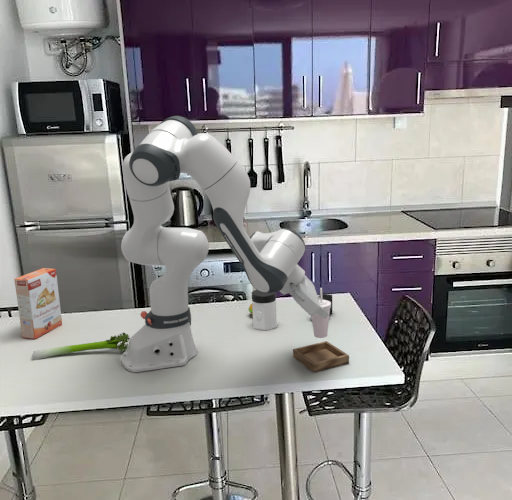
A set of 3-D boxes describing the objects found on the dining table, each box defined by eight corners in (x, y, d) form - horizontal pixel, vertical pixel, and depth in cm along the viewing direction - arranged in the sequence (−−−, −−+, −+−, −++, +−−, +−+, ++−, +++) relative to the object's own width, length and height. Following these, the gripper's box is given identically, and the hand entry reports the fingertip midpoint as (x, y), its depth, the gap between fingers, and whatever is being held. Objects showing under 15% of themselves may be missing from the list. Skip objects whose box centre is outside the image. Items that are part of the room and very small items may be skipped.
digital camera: (317, 311, 193) (317, 293, 191) (332, 313, 191) (332, 294, 189) (308, 321, 184) (308, 302, 182) (323, 323, 182) (323, 303, 180)
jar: (247, 328, 180) (245, 294, 177) (259, 319, 187) (257, 287, 184) (270, 332, 176) (269, 297, 173) (282, 323, 182) (281, 290, 180)
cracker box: (36, 340, 177) (27, 279, 172) (21, 338, 179) (12, 278, 174) (63, 324, 190) (56, 267, 185) (50, 323, 191) (42, 267, 186)
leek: (38, 359, 167) (134, 344, 169) (32, 371, 161) (133, 355, 163) (33, 342, 165) (131, 327, 167) (27, 354, 158) (129, 338, 161)
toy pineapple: (247, 319, 188) (246, 304, 186) (251, 309, 197) (250, 295, 196) (266, 319, 187) (266, 305, 186) (269, 309, 196) (269, 295, 195)
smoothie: (335, 337, 149) (334, 290, 146) (314, 341, 148) (312, 293, 144) (326, 329, 155) (325, 283, 152) (306, 333, 154) (304, 286, 150)
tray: (313, 372, 146) (313, 364, 146) (293, 357, 157) (292, 349, 156) (348, 363, 151) (348, 355, 150) (326, 348, 161) (326, 341, 161)
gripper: (300, 281, 137) (338, 316, 139) (295, 261, 157) (329, 292, 159) (283, 298, 138) (321, 333, 140) (280, 276, 158) (314, 307, 160)
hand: (325, 311), depth 150 cm, fingers closed on smoothie, 6 cm apart
